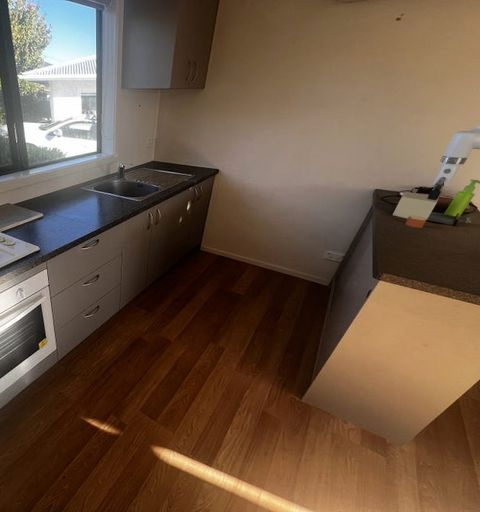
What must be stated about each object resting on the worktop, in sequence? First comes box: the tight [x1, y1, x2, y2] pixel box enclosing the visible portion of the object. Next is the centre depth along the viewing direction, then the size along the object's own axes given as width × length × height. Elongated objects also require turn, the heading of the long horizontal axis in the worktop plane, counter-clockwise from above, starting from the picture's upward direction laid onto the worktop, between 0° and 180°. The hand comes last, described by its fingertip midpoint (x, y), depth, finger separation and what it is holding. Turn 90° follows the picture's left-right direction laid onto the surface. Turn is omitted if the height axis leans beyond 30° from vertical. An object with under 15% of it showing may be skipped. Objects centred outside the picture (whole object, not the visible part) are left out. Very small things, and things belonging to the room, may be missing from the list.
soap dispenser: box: [443, 179, 480, 217], centre depth 153 cm, size 6×7×20 cm
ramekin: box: [404, 216, 428, 229], centre depth 146 cm, size 6×6×4 cm
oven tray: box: [426, 211, 472, 227], centre depth 149 cm, size 16×14×3 cm
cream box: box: [392, 191, 440, 219], centre depth 156 cm, size 13×14×11 cm
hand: (432, 197), depth 139 cm, fingers open, 9 cm apart
